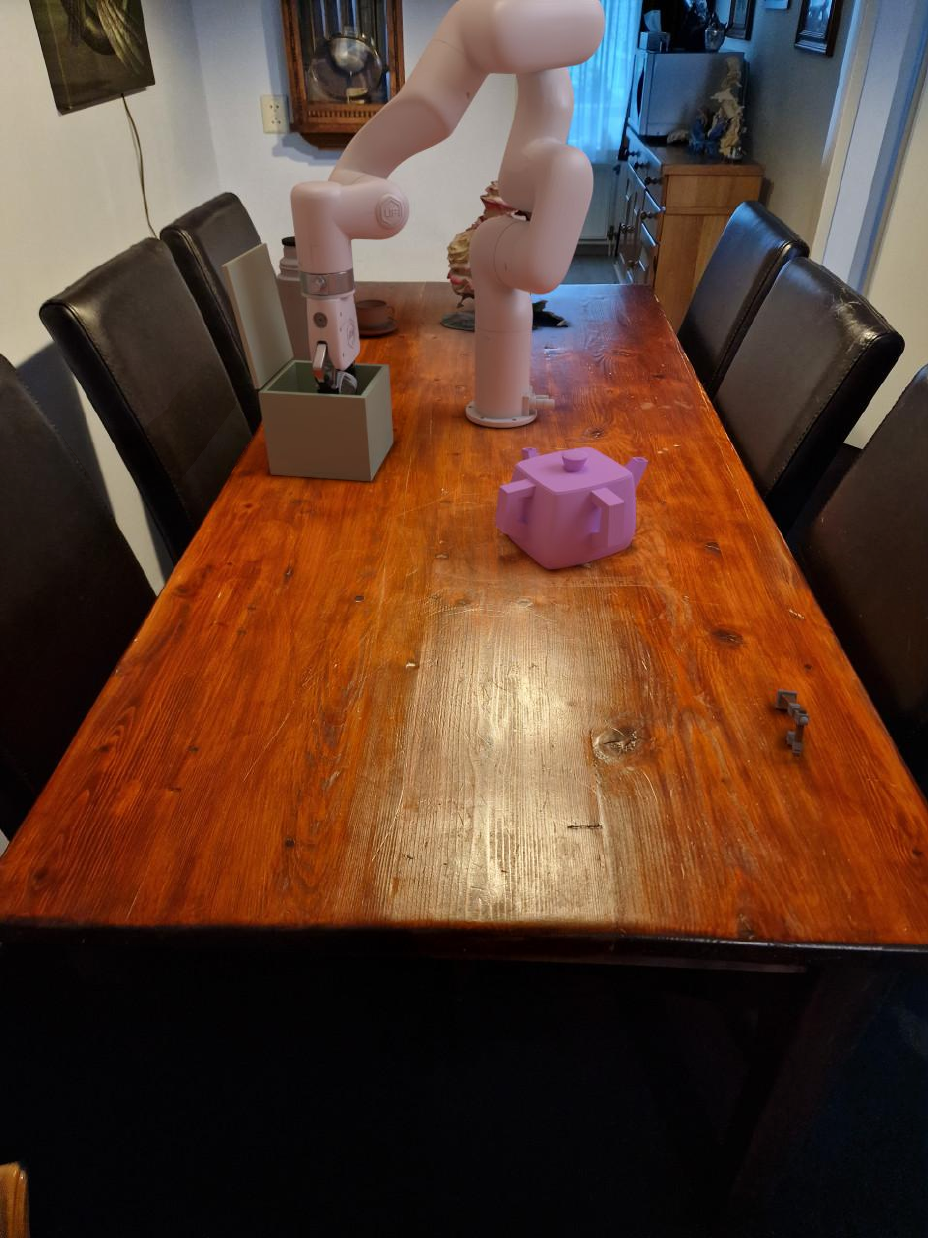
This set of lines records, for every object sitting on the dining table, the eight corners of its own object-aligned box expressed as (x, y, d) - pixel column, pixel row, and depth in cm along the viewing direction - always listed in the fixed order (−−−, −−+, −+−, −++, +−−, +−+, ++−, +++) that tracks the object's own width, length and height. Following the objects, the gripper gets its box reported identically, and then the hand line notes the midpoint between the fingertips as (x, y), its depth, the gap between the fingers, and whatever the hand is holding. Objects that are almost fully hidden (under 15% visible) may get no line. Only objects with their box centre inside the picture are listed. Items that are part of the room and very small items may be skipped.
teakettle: (489, 562, 103) (491, 472, 96) (520, 503, 116) (523, 420, 109) (624, 583, 99) (636, 491, 92) (640, 519, 112) (652, 434, 105)
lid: (266, 242, 119) (261, 243, 119) (227, 265, 107) (221, 265, 107) (293, 356, 128) (288, 356, 129) (260, 388, 116) (254, 389, 117)
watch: (364, 433, 131) (359, 364, 124) (356, 453, 124) (349, 382, 118) (330, 432, 131) (322, 364, 125) (319, 453, 124) (311, 382, 118)
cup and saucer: (369, 321, 192) (368, 294, 189) (409, 329, 187) (408, 301, 183) (334, 333, 184) (332, 305, 181) (374, 342, 179) (373, 313, 175)
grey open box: (393, 442, 134) (389, 364, 127) (371, 481, 122) (365, 397, 115) (301, 436, 136) (291, 359, 129) (270, 474, 124) (257, 392, 117)
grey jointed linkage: (787, 759, 73) (795, 711, 73) (771, 731, 81) (778, 687, 80) (809, 762, 73) (817, 714, 72) (790, 733, 81) (797, 689, 80)
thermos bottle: (343, 398, 151) (328, 233, 135) (329, 414, 144) (311, 243, 128) (302, 395, 152) (283, 231, 136) (286, 411, 146) (264, 241, 129)
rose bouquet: (492, 300, 207) (494, 166, 190) (579, 324, 190) (590, 178, 173) (414, 319, 193) (409, 177, 176) (501, 347, 176) (505, 191, 158)
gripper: (335, 298, 106) (347, 426, 116) (368, 268, 120) (377, 384, 130) (280, 297, 107) (297, 423, 117) (319, 267, 121) (331, 382, 131)
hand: (339, 402), depth 124 cm, fingers closed on watch, 8 cm apart
